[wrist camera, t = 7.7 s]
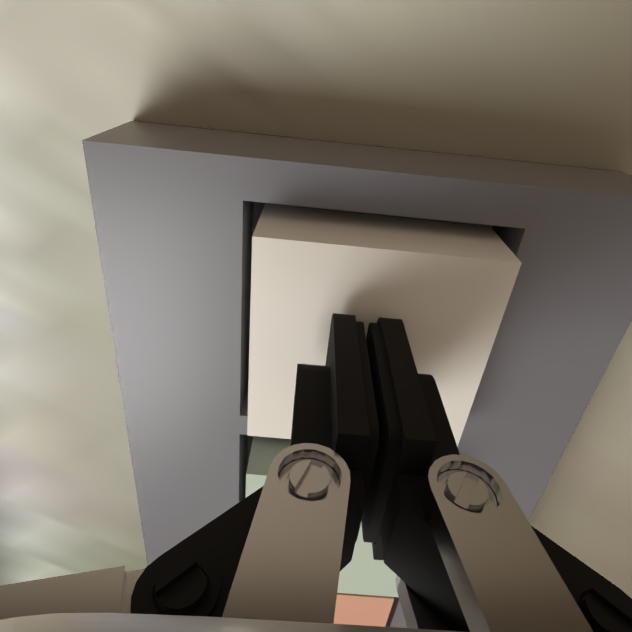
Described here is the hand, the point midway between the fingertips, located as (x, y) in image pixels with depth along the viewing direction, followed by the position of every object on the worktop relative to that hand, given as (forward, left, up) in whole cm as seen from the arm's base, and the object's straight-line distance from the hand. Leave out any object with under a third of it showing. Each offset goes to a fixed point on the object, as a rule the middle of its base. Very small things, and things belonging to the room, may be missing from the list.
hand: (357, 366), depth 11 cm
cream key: (0, 0, -3) cm, 3 cm away
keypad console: (0, +8, -5) cm, 9 cm away
